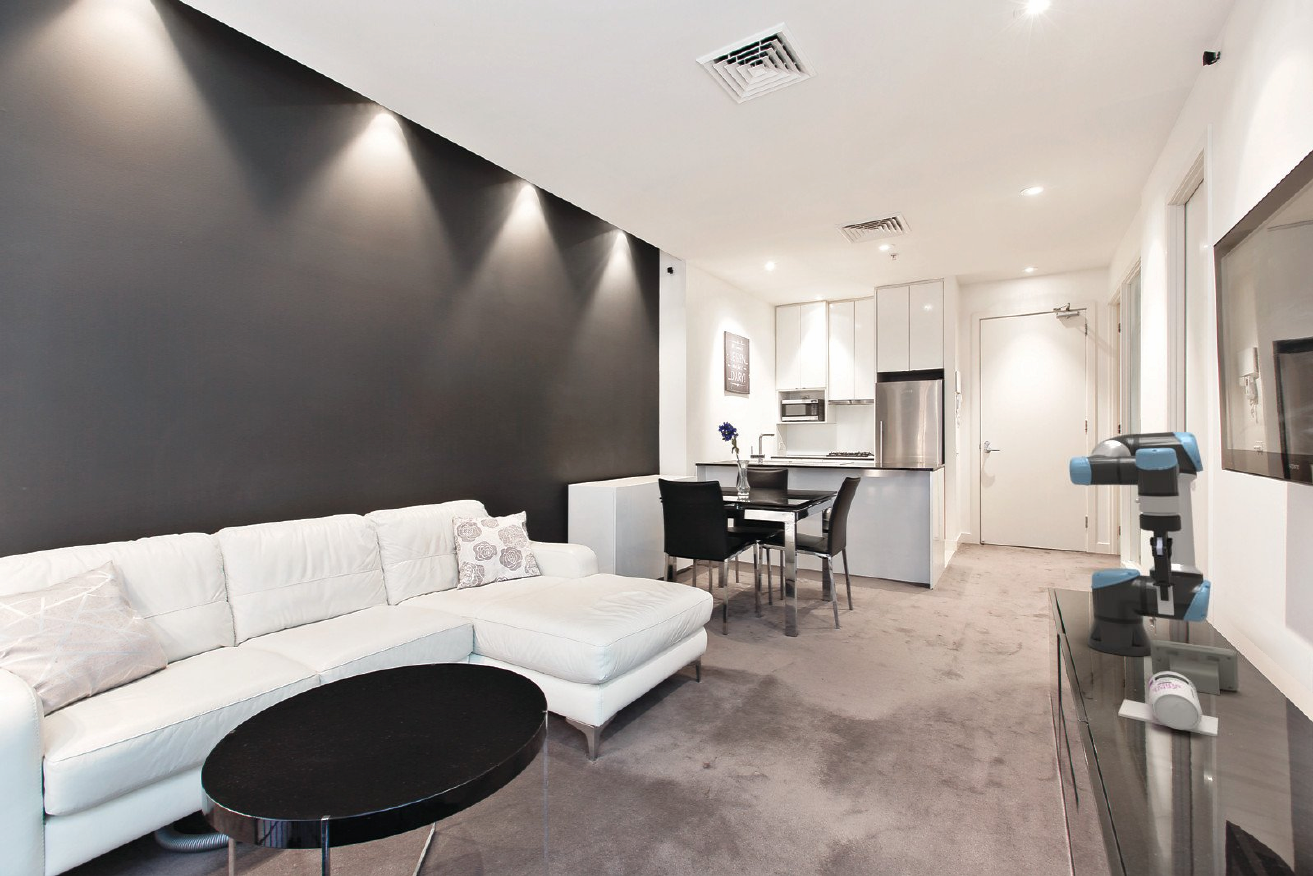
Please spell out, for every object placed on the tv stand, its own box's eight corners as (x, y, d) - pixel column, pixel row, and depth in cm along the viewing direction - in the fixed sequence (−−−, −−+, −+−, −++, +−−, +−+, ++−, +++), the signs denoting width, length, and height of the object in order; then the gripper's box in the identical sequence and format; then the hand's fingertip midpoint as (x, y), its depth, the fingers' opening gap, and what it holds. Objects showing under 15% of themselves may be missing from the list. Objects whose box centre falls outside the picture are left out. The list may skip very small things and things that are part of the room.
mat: (1124, 702, 139) (1124, 699, 139) (1218, 721, 128) (1218, 718, 128) (1118, 715, 132) (1118, 713, 132) (1217, 737, 121) (1217, 734, 121)
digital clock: (1243, 691, 144) (1239, 646, 144) (1235, 701, 138) (1232, 655, 138) (1157, 674, 156) (1154, 633, 157) (1147, 682, 151) (1144, 640, 151)
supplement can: (1177, 715, 134) (1181, 741, 122) (1139, 685, 138) (1140, 707, 126) (1206, 692, 131) (1214, 716, 119) (1167, 662, 135) (1170, 682, 123)
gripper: (1141, 510, 148) (1148, 605, 148) (1135, 515, 139) (1142, 617, 138) (1182, 511, 143) (1188, 609, 142) (1178, 517, 134) (1185, 623, 133)
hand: (1166, 613), depth 140 cm, fingers closed
